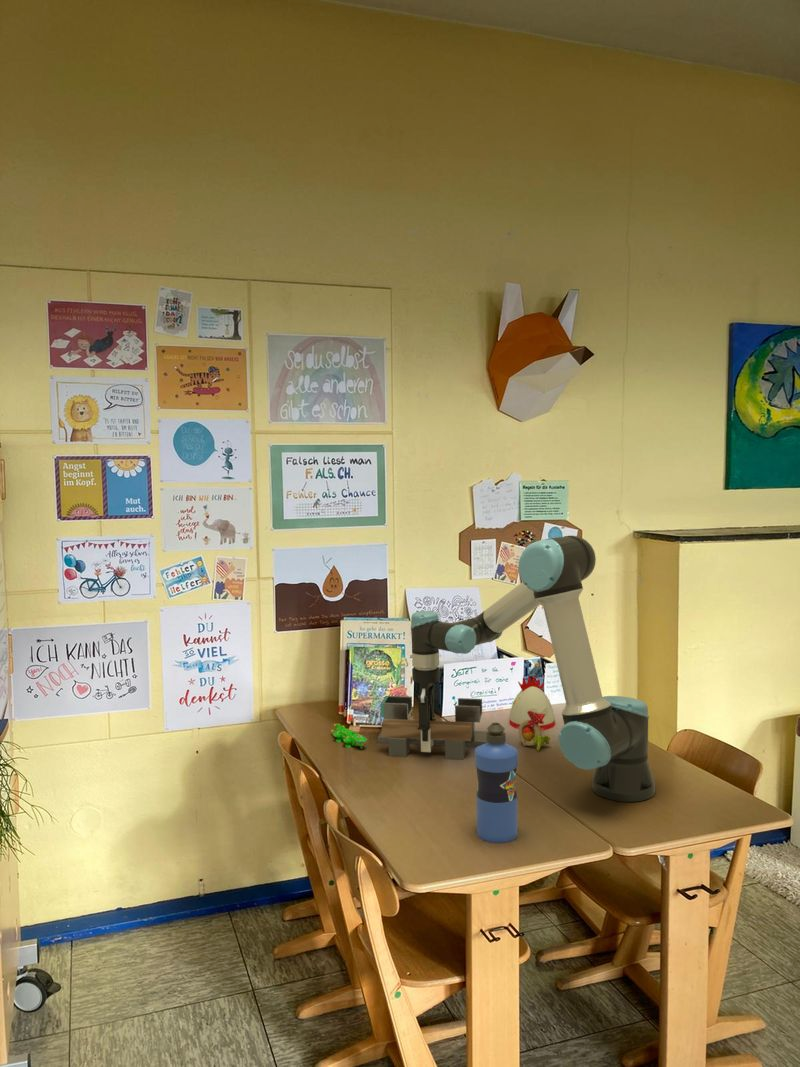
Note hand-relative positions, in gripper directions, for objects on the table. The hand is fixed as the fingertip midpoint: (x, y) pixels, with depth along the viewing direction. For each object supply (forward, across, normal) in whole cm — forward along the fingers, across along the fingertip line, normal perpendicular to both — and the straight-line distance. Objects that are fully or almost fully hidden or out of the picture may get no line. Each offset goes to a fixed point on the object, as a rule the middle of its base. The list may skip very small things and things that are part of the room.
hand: (427, 748), depth 234 cm
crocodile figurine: (+2, -7, -24) cm, 25 cm away
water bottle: (+2, +46, +23) cm, 51 cm away
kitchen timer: (+2, -30, +28) cm, 41 cm away
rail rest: (+2, 0, 0) cm, 2 cm away
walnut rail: (-3, 0, 0) cm, 3 cm away
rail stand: (+2, -12, 0) cm, 12 cm away
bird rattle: (+2, -9, +29) cm, 30 cm away
